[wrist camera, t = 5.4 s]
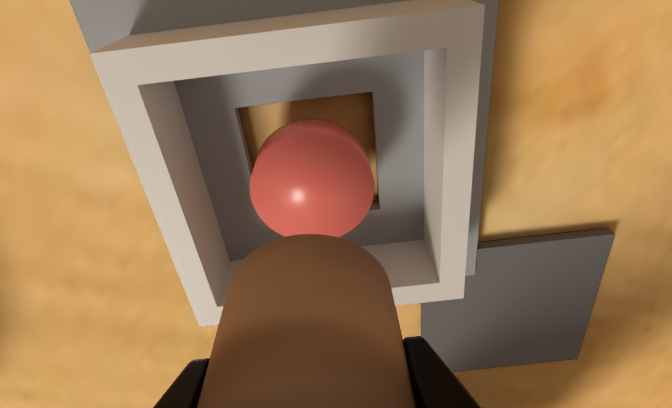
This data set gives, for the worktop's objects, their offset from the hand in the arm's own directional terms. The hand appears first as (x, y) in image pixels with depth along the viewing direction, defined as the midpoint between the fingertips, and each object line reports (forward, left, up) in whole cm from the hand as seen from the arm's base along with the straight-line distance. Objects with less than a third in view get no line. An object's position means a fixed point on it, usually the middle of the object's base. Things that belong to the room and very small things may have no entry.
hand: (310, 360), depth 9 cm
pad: (-10, -9, -10) cm, 17 cm away
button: (0, 0, -8) cm, 8 cm away
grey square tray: (0, 0, -10) cm, 10 cm away
